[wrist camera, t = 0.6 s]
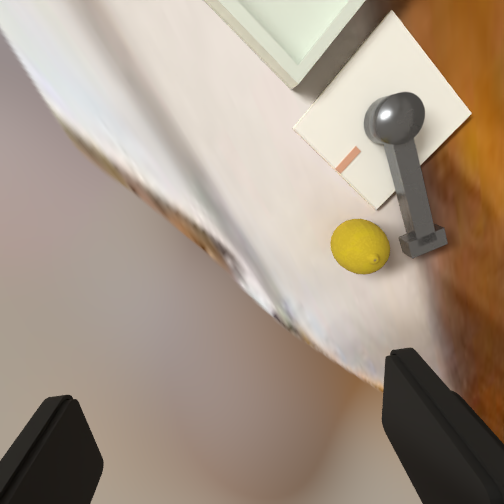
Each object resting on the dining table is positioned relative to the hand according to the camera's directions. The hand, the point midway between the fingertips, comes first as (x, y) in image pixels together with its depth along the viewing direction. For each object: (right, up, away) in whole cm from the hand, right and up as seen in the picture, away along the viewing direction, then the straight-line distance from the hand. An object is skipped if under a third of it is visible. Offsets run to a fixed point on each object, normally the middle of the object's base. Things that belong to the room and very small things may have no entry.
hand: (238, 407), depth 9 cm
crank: (+16, +13, +23) cm, 31 cm away
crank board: (+14, +18, +22) cm, 32 cm away
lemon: (+11, +7, +26) cm, 30 cm away
